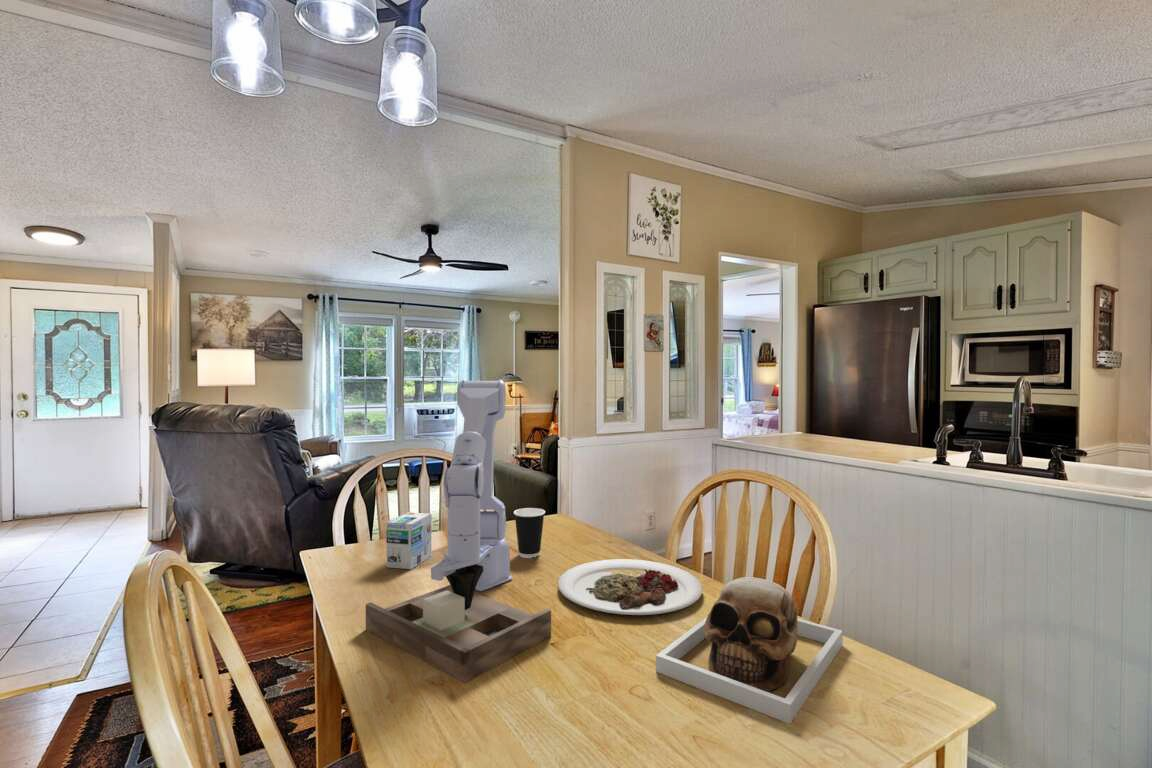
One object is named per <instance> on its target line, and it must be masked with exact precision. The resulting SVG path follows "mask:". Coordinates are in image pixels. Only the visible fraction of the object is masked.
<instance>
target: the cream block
mask: <svg viewBox="0 0 1152 768" xmlns="http://www.w3.org/2000/svg"><path fill="white" fill-rule="evenodd" d="M462 621H465V598H464V597H462V596H460V595H457V594H455V593H452V592H450V591H448V590H446V591H444V592H441V593H438V594H435V595H432V596H430V597H427V598H424V599H423V622H424V623H426V624H428V625H430V626H432V627H434V628H436V629H438V630H440V631H441V630H443V629H445V628H448V627H450V626H453V625H455V624H457V623H460V622H462Z"/></svg>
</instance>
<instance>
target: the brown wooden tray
mask: <svg viewBox="0 0 1152 768" xmlns="http://www.w3.org/2000/svg"><path fill="white" fill-rule="evenodd" d="M446 590H448V591H450V592H452V593H453V590H452V587H451V585H450V584H449V585H446V586H444V587H440V588H438V589H435V590H432V591H430V592H427V593H424V594H421V595H418V596H416V597H412V598H410V599H408V600H407V599H406V600H404V601H402V602H400V603H396V604H394V605H390V606H387V607H385V608H384V607H382V606H379V605H378V604H375V603H373V602H371V601H370V602H367V603H365V630H366V631H367V632H370V633H372V634H373V635H375V636H377V637H379V638H380V639H383V640H384V641H386V642H388V643H390V644H392V645H393V646H395V647H397V648H400V649H401V650H403V651H405V652H407V653H408V654H410V655H413V656H414V657H416V658H417V659H419V660H421V661H424V662H425V663H426V664H429V665H431V666H432V667H434V668H436V669H438V670H440V671H441V672H443V673H446V674H447V675H449V676H450V677H453V679H456V680H458V681H459V682H462V683H463V684H466V683H467V682H470V681H471V680H474V679H476V678H477V677H479V676H480V675H482V674H484V673H486V672H488V671H490V670H492V669H493V668H495V667H497V666H499V665H501V664H502V663H505V662H506V661H508V660H510V659H511V658H512V659H513V658H514V657H515V656H517V655H519V654H521V653H523V652H524V651H526V650H529V649H530V648H531V647H533V646H536V645H538V644H539V643H541V642H543V641H544V640H546V639H549V638H550V637H551V636H552V609H549V608H545V609H543V610H541V611H539V612H537V613H535V614H532V613H529V612H526V611H525V610H521V609H518V608H516V607H513V606H512V605H508V604H505V603H503V602H500V601H498V600H495V599H492V598H489V597H487V596H484V595H482V594H479V593H476V592H474V595H473V599H472V603H471V607H470V608H469V609H467V610H465V621H462V622H460V623H457V624H455V625H453V626H450V627H448V628H445V629H443V630H441V631H440V630H438V629H436V628H434V627H432V626H430V625H428V624H426V623H424V622H423V599H424V598H427V597H430V596H432V595H435V594H438V593H441V592H444V591H446Z"/></svg>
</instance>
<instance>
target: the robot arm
mask: <svg viewBox="0 0 1152 768" xmlns="http://www.w3.org/2000/svg"><path fill="white" fill-rule="evenodd" d="M506 389H507V388H506V383H505V382H504V380H502V379H501V380H500V379H499V380H464V379H462V380H460V381H459V382H458V384H457V387H456V401H457V406H458V408H459V411H460V413H461V415H462V417H463V418H464V420H463V432H462V433H460V434H458V436H456V439H455V443H454V448H453V451H452V452H453V453H452V457H451V462H450V466H449V467H446V468H445V470H444V474H443V475H444V476H443V494H444V497H445V508H447V552H446V553H444V554H443V559H442V560H441V561H440V562H438V563H437V564H435V565H433V566H432V567H430V579H431V580H434V581H438V582H440V581H442V580H444V578H446V580H447V581H448V583H449V585H451V587H452V590H453V593H455V594H457V595H460V596H462V597H464V598H465V610H467V609H469V608H470V607H471V603H472V599H473V595H474V593H475V591H478V592H484V591H485V590H486V591H487V590H488V589H491V588H493V587H495V586H496V587H497V586H498V585H501V584H503V583H506V582H508V581H512V580H513V576H511V575H510V573H511V561H510V560H511V550H510V546H509V543H508V542H507V540H506V539H505V538H506V530H507V529H506V528H507V517H506V506H505V503H503V502H502V501H501V500H500V499H499V498H497V497H496V496H495V495H494V467H495V466H494V464H495V463H494V462H495V461H494V460H495V457H494V455H495V428H496V425H497V421H500V420H502V419H504V418H505V414H506V402H507V401H506V400H507V399H506V398H507V397H506V396H507V395H506V394H507V392H506ZM483 510H484V511H483ZM485 510H486V511H485ZM489 510H491V511H489Z"/></svg>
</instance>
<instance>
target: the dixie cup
mask: <svg viewBox="0 0 1152 768" xmlns="http://www.w3.org/2000/svg"><path fill="white" fill-rule="evenodd" d="M545 514H546V510H544V509H543V508H537V507H536V508H535V507H525V508H519V509H515V510H514V511H513V515H514V519H515V528H516V529H515V530H516V539H517V541H516V542H517V548H518V553H519V556H520V557H521V558H523V559H533V558H532V557H535V558H537V557H539V556H538V555H539V554H540V552H541V546H542V545H541V544H542V536H543V526H544V518H545V517H544V516H545ZM536 556H537V557H536Z"/></svg>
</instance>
